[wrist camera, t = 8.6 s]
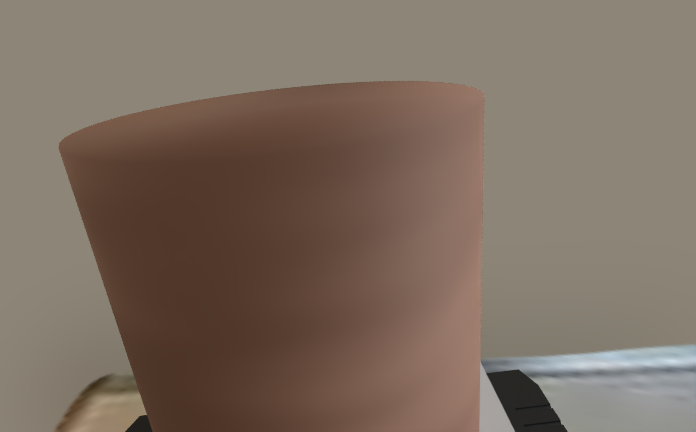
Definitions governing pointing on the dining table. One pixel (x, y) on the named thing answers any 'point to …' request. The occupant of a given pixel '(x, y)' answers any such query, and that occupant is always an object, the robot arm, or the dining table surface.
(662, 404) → the dining table surface
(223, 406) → the peg
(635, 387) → the dining table surface
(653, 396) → the dining table surface
